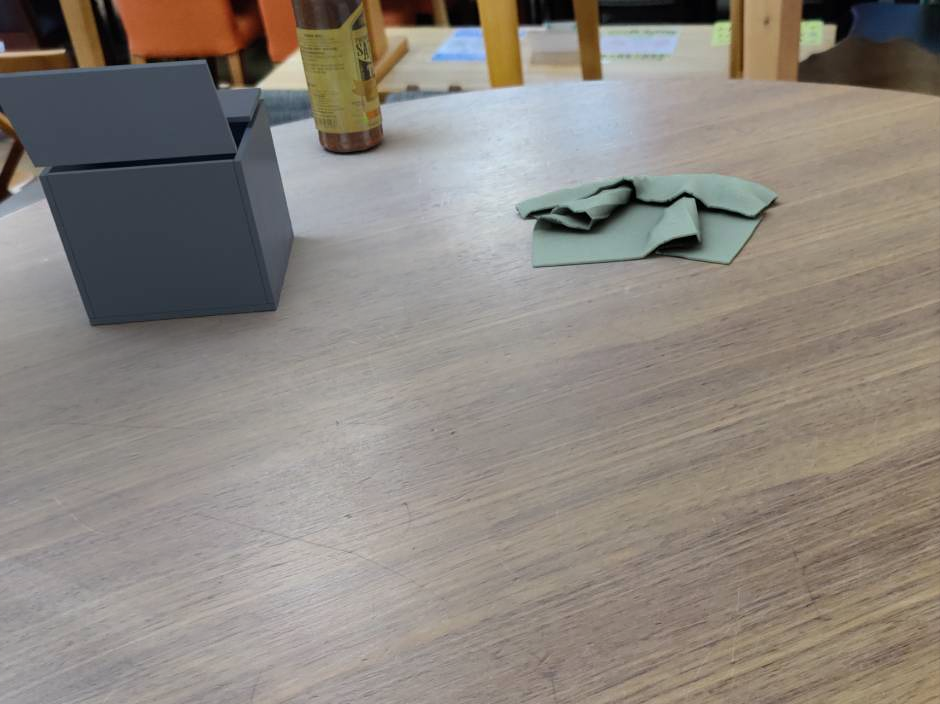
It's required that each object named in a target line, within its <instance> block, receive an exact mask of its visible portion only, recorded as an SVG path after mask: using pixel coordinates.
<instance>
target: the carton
mask: <svg viewBox="0 0 940 704" xmlns="http://www.w3.org/2000/svg"><path fill="white" fill-rule="evenodd" d="M217 93H218V96H219V99H220V101H221V104H222V107H223V110H224V113H225V116H226V119H227V121H228V124H229V127H230V130H231V133H232V136H233V138H234V141H235V144H236V147H237V153H226V154H213V155H199V156H186V157H172V158H159V159H145V160H131V161H118V162H104V163H91V164H77V165H63V166H50V167H43V169H42V170H41V172H40V174H38V179H39V181H40V184H41V187H42V190H43V193H44V196H45V199H46V201H47V204H48V208H49V210H50V213H51V216H52V218H53V221H54V224H55V228H56V230H57V232H58V236H59V238H60V241H61V245H62V247H63V250H64V253H65V256H66V258H67V261H68V265H69V267H70V270H71V273H72V275H73V279H74V281H75V285H76V287H77V290H78V293H79V296H80V298H81V302H82V305H83V307H84V311H85V312H86V316H87V318H88V322H89V324H90V326H100V325H111V324H123V323H124V324H125V323H135V322H146V321H159V320H161V321H162V320H173V319H185V318H195V317H208V316H218V315H219V316H220V315H221V316H222V315H231V314H232V315H233V314H244V313H254V311H256V312H268V311H276V310H277V309H278V305H279V300H280V296H281V291H282V287H283V284H284V280H285V275H286V270H287V266H288V262H289V258H290V254H291V250H292V245H293V241H294V237H295V233H294V230H293V224H292V220H291V216H290V215H291V214H290V211H289V206H288V202H287V197H286V193H285V188H284V183H283V179H282V174H281V170H280V165H279V160H278V157H277V152H276V147H275V143H274V139H273V134H272V130H271V125H270V121H269V117H268V111H267V107H266V102H265V99H264V98H261V96H262V93H263V92H262V88H261V87H250V88H249V87H248V88H236V89H224V90H223V89H221V90H219V89H218V90H217Z"/></svg>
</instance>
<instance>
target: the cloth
mask: <svg viewBox="0 0 940 704" xmlns="http://www.w3.org/2000/svg"><path fill="white" fill-rule="evenodd" d="M779 197H780V195H779V194H777V193H776V192H775V191H773V190H771V189H770V188H767V187H766V186H764V185H762V184H760V183H757V182H753V181H750V180H747V179H744V178H740V177H738V176H729V175H724V174H717V173H687V174H686V173H675V174H670V175H655V176H654V175H650V174H635V175H623V176H618V177H612V178H608V179H606V180H603V181H598V182H597V181H596V182H589V183H584V184H579V185H578V186H574V187H572V188H571V187H570V188H569V187H568V188H560V189H556V190H553V191H550V192H549V191H548V192H547V193H545V194H543V195H540V196H539V195H538V196H534V197H531V198H529V199H526V200H523V201H521V202H517V203H515V204H514V206H515V211H517V212H518V213H519V214H520V216H521V218H522V219H526V217H527V216H528V217H531V218H534V219H537V220H536V221H535V222H534V224H533V229H532V247H531V248H532V251H531V253H532V254H531V255H532V256H531V257H532V268H537V267H538V268H539V267H551V266H552V267H554V266H565V265H577V264H578V265H580V264H581V265H582V264H592V263H605V262H607V263H608V262H618V261H629V260H639V259H644V258H645V257H646V256H648V255H649V254H650V253H651V252H653V251H654V250H656V251H655V253H654V254H657V255H662V256H672V257H680V258H684V259H687V260H688V259H689V260H693V261H701V262H709V263H715V264H722V265H730V264H731V262H732V261H733V260H734V259H735V258H736V256H737V255H738V253H739V252H740V251H741V250H742V249H743V247H744V246H745V244H746V243H747V242H748V240H749V239H750V238H751V236H752V235H753V233H754V232H755V230H756V228H757V227H758V225H759V224H760V222H761V221H762V219H763V215H762V213H761V211H763V209H765V208H766V207H768V206H769V205H770V204H772V203H775V202H777V200H778V199H779ZM771 202H772V203H771ZM656 248H657V249H656Z"/></svg>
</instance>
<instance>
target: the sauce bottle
mask: <svg viewBox="0 0 940 704" xmlns="http://www.w3.org/2000/svg"><path fill="white" fill-rule="evenodd" d="M290 5H291V7H292V10H293V16H294V21H295V33H296V37H297V43H298V48H299V53H300V56H301V62H302V67H303V73H304V76H305V82H306V88H307V90H308V91H307V92H308V97H309V100H310V101H309V102H310V107H311V111H312V116H313V121H314V126H315V129H316V130H317V133H318V141H319V144H320V145H321V147H322V148H324V149H325V150H327V151H330V152H336V153H350V152H358V151H365V150H368V149H369V148H373V147H376V146H377V145H379V144H381V142H382V141H383V139H384V128H383V116H382V108H381V103H380V95H379V90H378V85H377V84H378V83H377V79H376V73H375V65H374V60H373V54H372V48H371V42H370V37H369V32H368V27H367V20H366V13H365V9H364V8H365V7H364V2H363V0H290Z"/></svg>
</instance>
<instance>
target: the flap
mask: <svg viewBox="0 0 940 704" xmlns="http://www.w3.org/2000/svg"><path fill="white" fill-rule="evenodd" d="M217 91H218V89H217V87H216V85H215V82H214V78H213V76H212V73H211V70H210V67H209V64H208V62H207V59H193V60H179V61H165V62H148V63H134V64H133V63H132V64H121V65H120V64H119V65H105V66H91V67H90V66H89V67H88V66H87V67H75V68H62V69H61V68H60V69H46V70H45V69H44V70H31V71H16V72H2V73H0V107H1V109H2V110H3V113H4V114H5V116H6V118H7V119H8V121H9V123H10V125H11V127H12V129H13V130H14V133H15V134H16V137H17V138H18V140H19V142H20V143H21V145H22V147H23V149H24V150H25V152H26V154H27V156H28V157H29V159H30V161H31V163H32V165H33V167H34V168H45V167H50V166H63V165H77V164H91V163H104V162H118V161H131V160H145V159H159V158H172V157H186V156H199V155H213V154H226V153H237V147H236V144H235V141H234V138H233V136H232V133H231V130H230V127H229V124H228V121H227V119H226V116H225V113H224V110H223V107H222V104H221V101H220V99H219V96H218V93H217Z"/></svg>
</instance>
